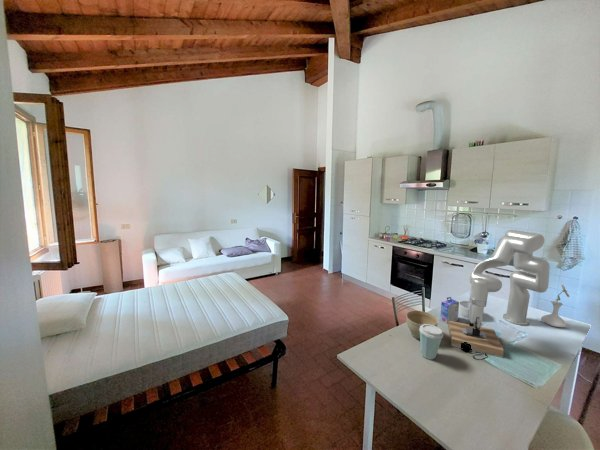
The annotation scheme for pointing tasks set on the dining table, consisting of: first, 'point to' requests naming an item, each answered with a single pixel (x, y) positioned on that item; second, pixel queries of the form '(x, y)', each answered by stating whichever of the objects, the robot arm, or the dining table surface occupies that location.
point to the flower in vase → (555, 313)
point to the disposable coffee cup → (430, 340)
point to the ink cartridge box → (449, 310)
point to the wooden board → (475, 339)
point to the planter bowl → (419, 321)
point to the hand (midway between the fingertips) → (474, 330)
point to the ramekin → (464, 308)
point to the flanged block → (469, 332)
